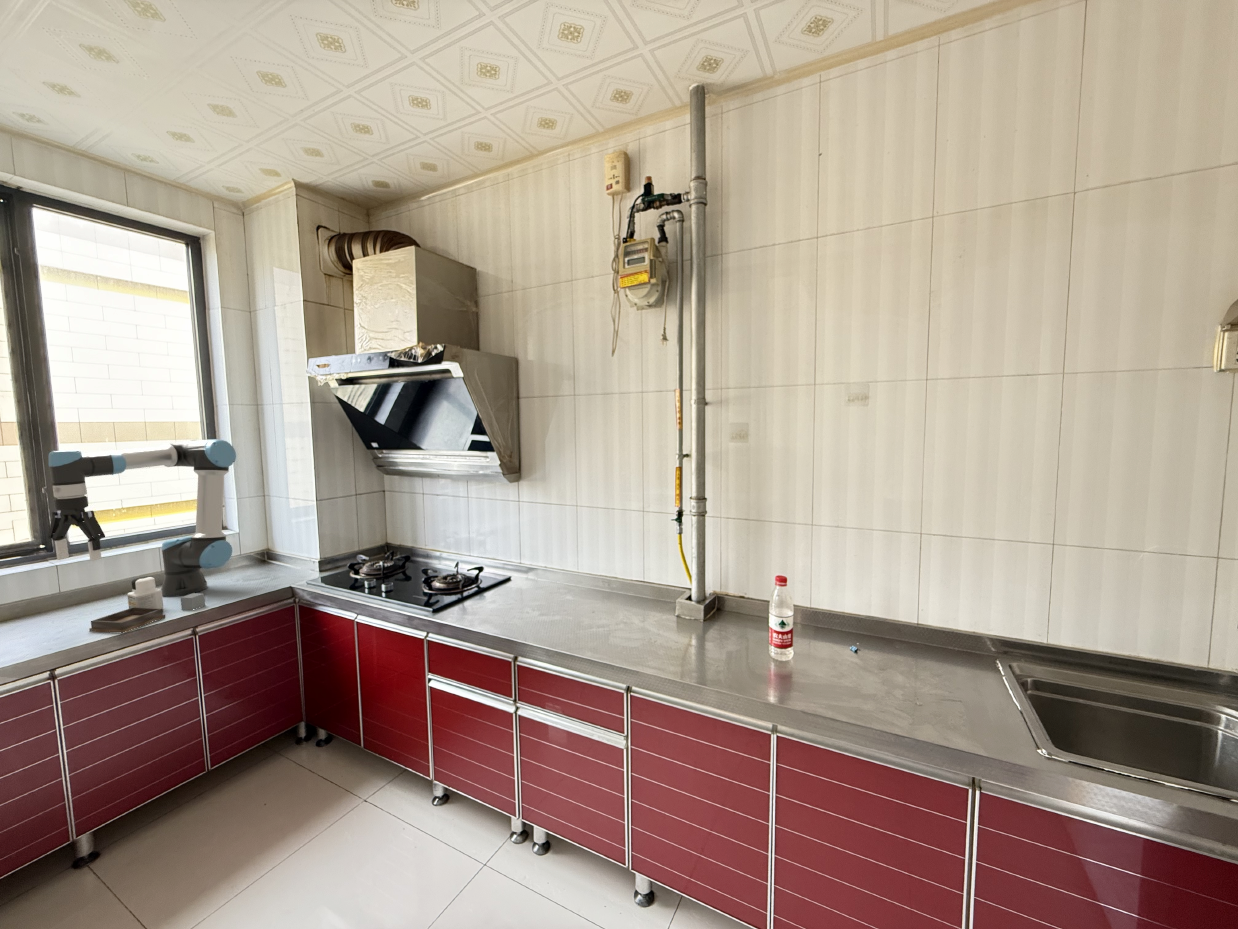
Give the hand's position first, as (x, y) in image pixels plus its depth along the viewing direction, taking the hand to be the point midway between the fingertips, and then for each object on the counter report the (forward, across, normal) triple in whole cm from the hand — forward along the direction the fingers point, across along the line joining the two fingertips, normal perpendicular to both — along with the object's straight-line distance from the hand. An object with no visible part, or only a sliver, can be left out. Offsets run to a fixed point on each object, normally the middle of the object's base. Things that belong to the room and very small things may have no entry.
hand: (79, 559), depth 172 cm
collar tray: (+26, +5, +8) cm, 28 cm away
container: (+27, -3, +21) cm, 34 cm away
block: (+27, +12, +26) cm, 39 cm away
